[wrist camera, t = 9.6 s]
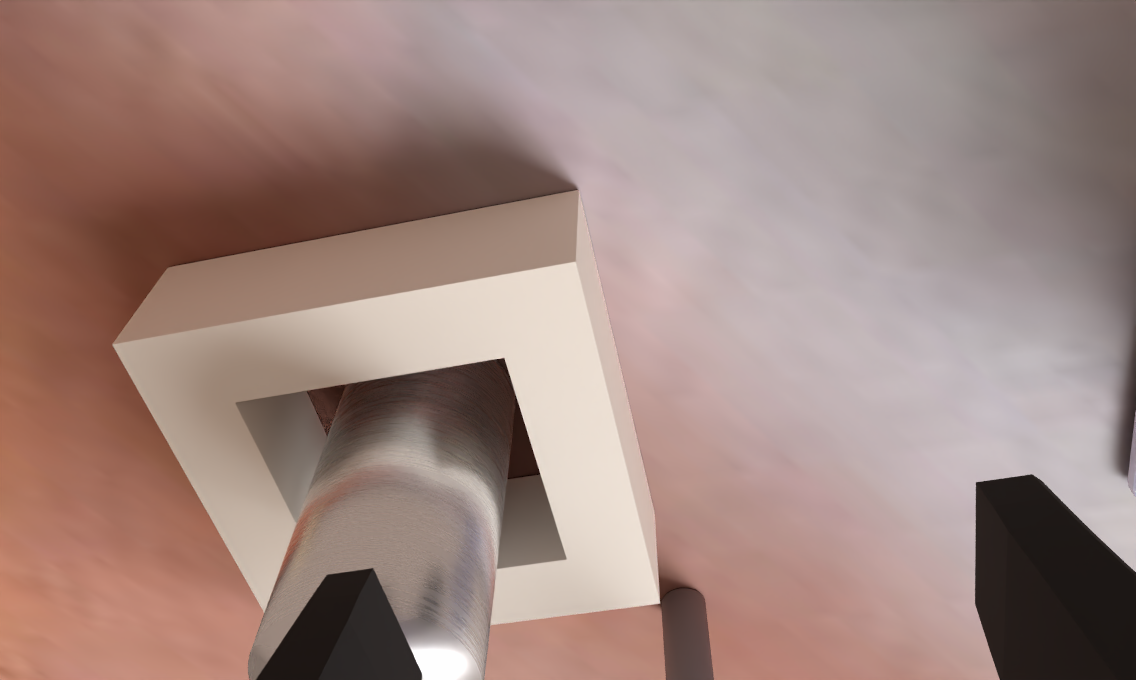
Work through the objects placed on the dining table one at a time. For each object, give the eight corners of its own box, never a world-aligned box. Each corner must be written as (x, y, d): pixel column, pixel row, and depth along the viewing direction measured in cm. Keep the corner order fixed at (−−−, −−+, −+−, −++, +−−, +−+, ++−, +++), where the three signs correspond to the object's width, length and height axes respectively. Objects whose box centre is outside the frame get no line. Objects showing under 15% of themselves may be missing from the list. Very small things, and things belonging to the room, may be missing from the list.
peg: (536, 446, 24) (512, 736, 18) (384, 478, 25) (306, 767, 19) (484, 312, 22) (434, 584, 16) (319, 351, 23) (206, 626, 16)
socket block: (579, 189, 21) (575, 261, 18) (654, 512, 26) (660, 603, 23) (167, 267, 22) (111, 344, 19) (315, 559, 27) (286, 651, 24)
